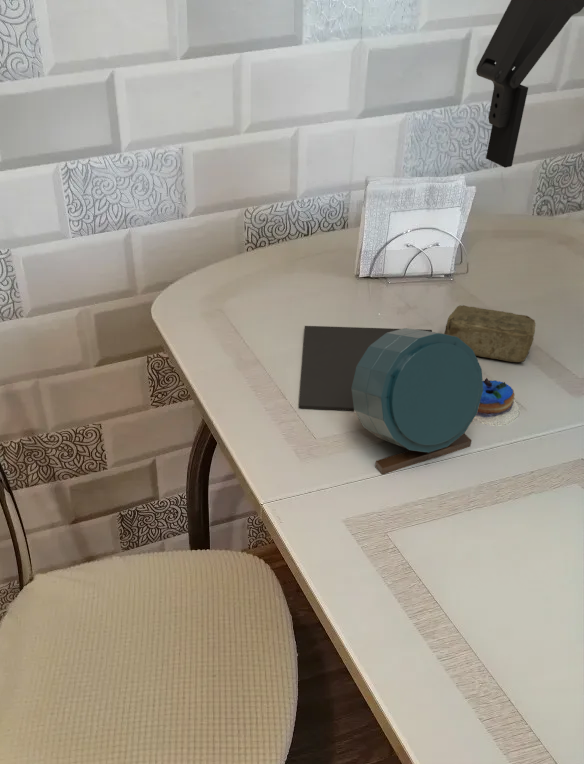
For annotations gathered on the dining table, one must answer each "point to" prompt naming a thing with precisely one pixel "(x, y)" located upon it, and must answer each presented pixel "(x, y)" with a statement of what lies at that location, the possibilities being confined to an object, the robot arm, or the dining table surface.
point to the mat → (333, 364)
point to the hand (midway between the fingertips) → (558, 150)
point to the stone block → (492, 332)
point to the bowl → (417, 389)
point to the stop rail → (419, 456)
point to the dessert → (497, 404)
